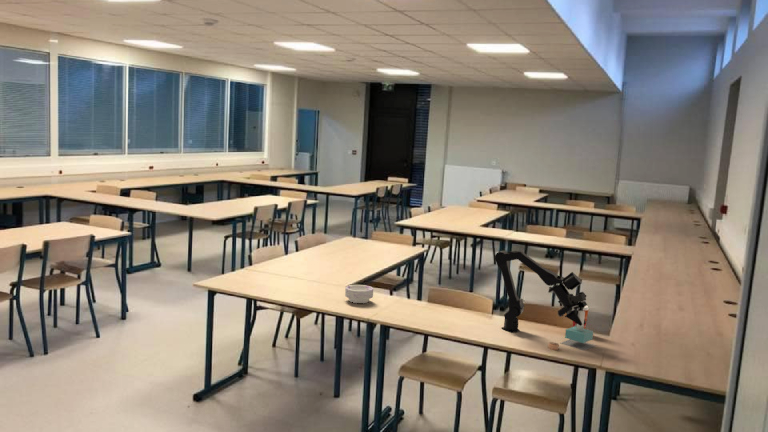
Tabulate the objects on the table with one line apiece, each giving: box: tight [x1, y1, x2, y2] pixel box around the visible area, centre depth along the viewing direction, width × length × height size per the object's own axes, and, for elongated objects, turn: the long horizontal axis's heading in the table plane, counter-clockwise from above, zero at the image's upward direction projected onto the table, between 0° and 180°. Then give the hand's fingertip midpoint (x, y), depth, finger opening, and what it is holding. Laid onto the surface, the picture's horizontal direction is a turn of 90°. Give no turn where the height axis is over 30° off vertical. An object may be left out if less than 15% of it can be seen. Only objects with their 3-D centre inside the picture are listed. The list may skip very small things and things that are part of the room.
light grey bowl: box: [344, 284, 374, 304], centre depth 335 cm, size 15×15×8 cm
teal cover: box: [564, 310, 594, 343], centre depth 283 cm, size 9×9×13 cm
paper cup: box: [572, 305, 590, 329], centre depth 303 cm, size 8×8×14 cm
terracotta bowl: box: [547, 341, 560, 351], centre depth 276 cm, size 4×4×3 cm
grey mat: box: [559, 339, 597, 351], centre depth 285 cm, size 12×12×1 cm
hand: (583, 324), depth 282 cm, fingers closed on teal cover, 3 cm apart
